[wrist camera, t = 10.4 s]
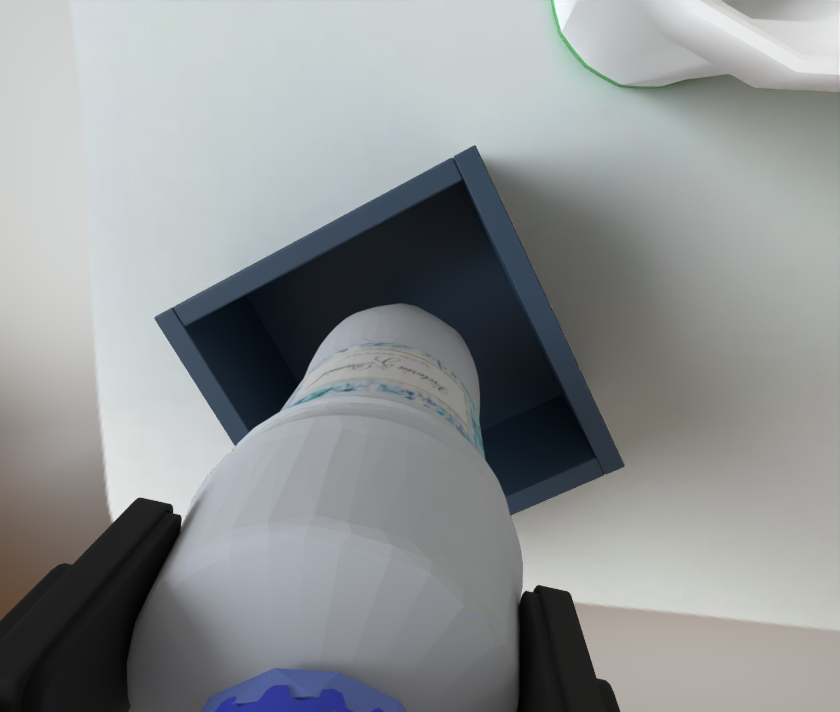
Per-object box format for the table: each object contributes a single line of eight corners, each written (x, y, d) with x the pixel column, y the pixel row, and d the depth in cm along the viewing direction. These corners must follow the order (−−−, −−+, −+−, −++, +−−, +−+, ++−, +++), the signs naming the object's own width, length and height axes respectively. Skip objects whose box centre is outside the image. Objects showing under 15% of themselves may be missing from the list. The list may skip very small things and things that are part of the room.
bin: (467, 155, 27) (475, 144, 20) (581, 397, 30) (625, 466, 23) (226, 283, 29) (153, 317, 22) (354, 499, 32) (328, 594, 25)
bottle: (495, 304, 24) (698, 776, 5) (464, 458, 26) (527, 1240, 7) (326, 276, 24) (-131, 644, 5) (307, 433, 26) (-79, 1148, 7)
